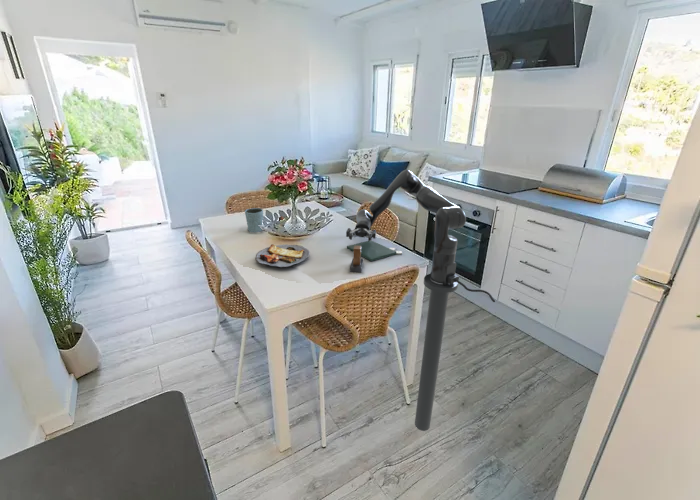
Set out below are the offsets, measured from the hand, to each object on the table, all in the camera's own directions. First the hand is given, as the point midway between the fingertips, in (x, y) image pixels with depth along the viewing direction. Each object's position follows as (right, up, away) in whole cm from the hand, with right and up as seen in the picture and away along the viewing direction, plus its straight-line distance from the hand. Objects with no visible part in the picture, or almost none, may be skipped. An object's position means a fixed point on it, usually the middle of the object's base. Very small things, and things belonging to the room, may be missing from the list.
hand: (359, 238), depth 163 cm
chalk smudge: (+17, -5, +15) cm, 24 cm away
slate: (+6, -6, +13) cm, 16 cm away
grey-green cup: (-59, +6, +40) cm, 72 cm away
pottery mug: (-44, +8, +44) cm, 63 cm away
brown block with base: (-2, -13, -6) cm, 15 cm away
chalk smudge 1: (+20, -7, +12) cm, 24 cm away
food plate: (-37, -10, +3) cm, 38 cm away
